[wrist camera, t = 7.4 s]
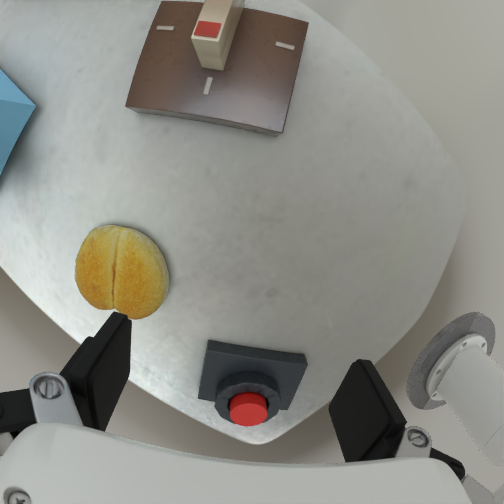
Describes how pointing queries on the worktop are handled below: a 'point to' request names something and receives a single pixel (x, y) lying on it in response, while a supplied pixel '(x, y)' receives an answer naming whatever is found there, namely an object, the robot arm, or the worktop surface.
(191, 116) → the panel
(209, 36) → the handle
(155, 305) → the bread roll
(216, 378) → the button block
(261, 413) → the button
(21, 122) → the teapot
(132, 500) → the robot arm
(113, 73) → the worktop surface
